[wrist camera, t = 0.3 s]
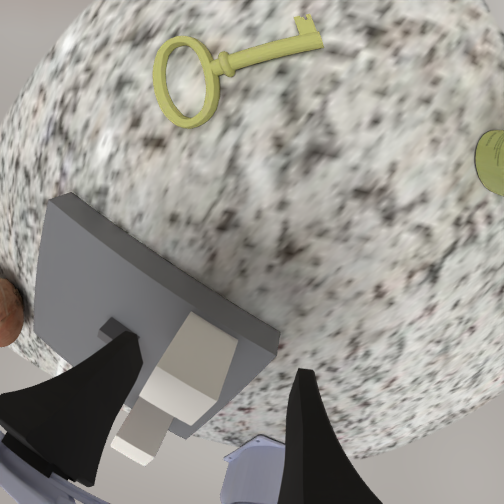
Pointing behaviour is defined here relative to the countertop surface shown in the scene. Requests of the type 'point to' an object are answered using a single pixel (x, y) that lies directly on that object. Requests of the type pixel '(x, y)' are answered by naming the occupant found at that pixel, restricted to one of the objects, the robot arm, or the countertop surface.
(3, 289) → the onion
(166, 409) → the near plug
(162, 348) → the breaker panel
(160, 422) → the far plug
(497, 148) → the tube
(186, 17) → the countertop surface
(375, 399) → the countertop surface
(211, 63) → the key
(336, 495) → the robot arm
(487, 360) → the countertop surface
